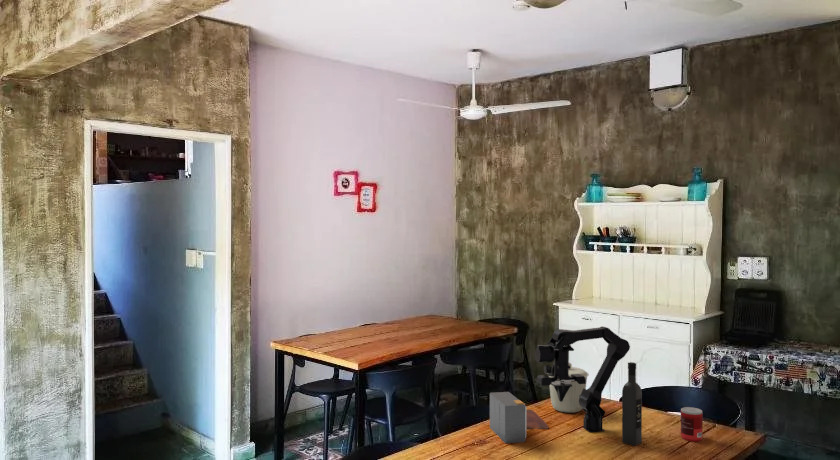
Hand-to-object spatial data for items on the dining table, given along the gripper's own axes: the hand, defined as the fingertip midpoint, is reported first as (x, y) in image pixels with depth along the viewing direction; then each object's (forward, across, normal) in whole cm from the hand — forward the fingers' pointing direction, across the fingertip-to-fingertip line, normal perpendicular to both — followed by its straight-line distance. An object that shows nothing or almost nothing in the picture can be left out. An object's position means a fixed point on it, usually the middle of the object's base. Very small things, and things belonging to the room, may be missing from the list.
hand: (560, 401), depth 246 cm
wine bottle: (+12, -21, +17) cm, 30 cm away
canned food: (+12, -46, +18) cm, 51 cm away
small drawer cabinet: (+12, +22, -1) cm, 25 cm away
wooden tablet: (+13, +5, -18) cm, 23 cm away
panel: (+11, +21, +5) cm, 24 cm away
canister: (+12, -16, -27) cm, 34 cm away
